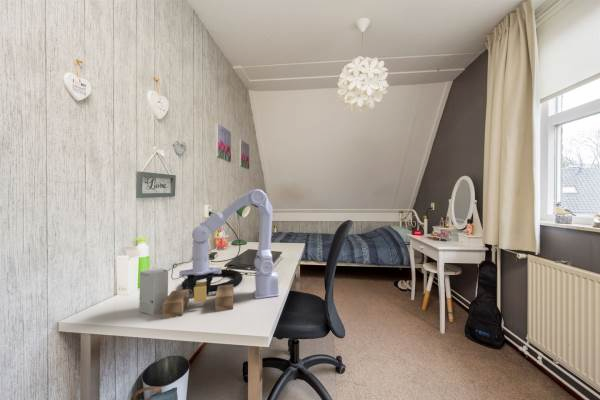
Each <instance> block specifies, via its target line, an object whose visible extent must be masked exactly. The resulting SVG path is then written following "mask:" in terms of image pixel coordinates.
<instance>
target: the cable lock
mask: <svg viewBox="0 0 600 400" xmlns="http://www.w3.org/2000/svg"><path fill="white" fill-rule="evenodd" d="M223 275H226V276H225V277H230V278H233V279H230V280H228V281H226V282H220V283H217V284H210V288H209V292H214V291H217V288H218V286H222V285H231V284H233V287H234V288H236V287H237V286H239V285H240V284H241V283H242V281H243V277H244V276H243V274H242V273H241V272H240V271H238V270H234V269H230V268H229V269H226V268H224V269H222V268H221V274H214V277H215V278H216V277H224V276H223ZM206 276H207V275H196V282H197V280H198V281H200V280H202V279H206ZM214 277H213V278H214ZM181 288H182V289H181V290H186V289H189V294H193V291H192V288H191V286H190V284H189V282H188V281H187V278H185V279H184V280H183V281H182V282H181Z"/></svg>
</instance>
